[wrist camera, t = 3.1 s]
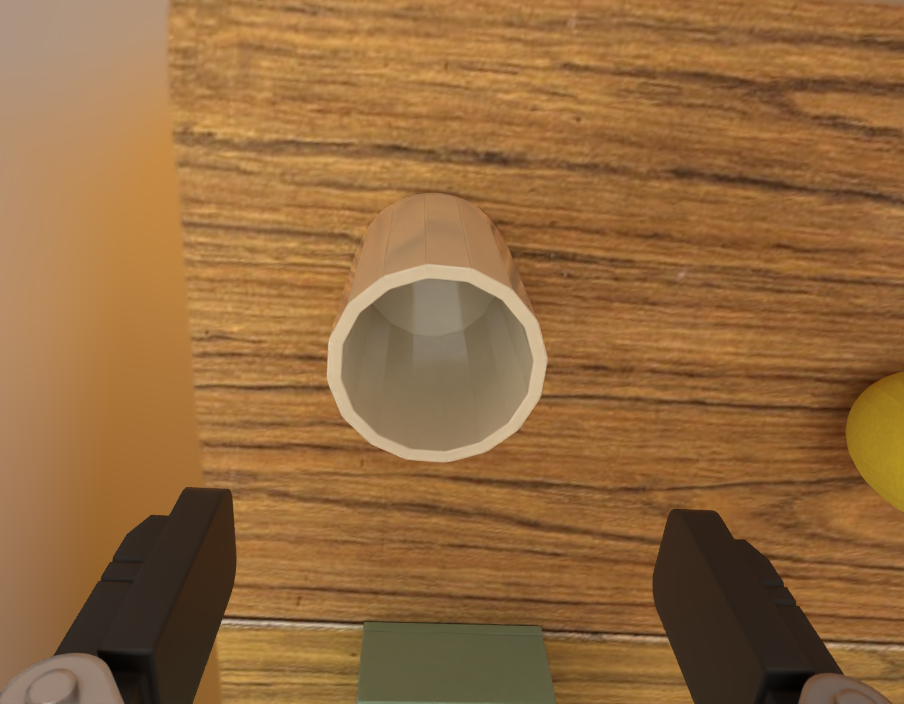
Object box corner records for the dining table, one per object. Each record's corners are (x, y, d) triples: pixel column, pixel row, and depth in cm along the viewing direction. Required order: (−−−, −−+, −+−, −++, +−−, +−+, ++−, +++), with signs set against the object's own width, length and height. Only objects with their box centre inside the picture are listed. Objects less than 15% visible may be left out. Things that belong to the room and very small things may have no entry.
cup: (330, 298, 27) (292, 411, 19) (399, 163, 25) (388, 224, 17) (461, 361, 29) (477, 491, 20) (536, 238, 26) (588, 328, 18)
